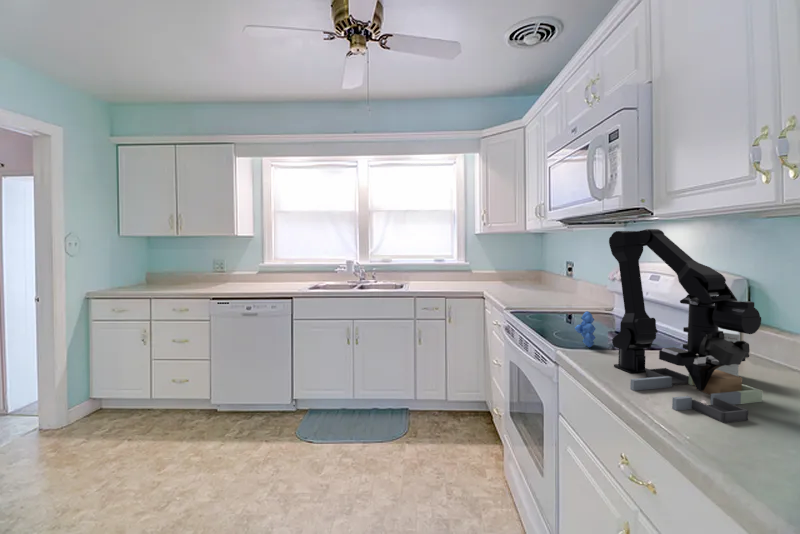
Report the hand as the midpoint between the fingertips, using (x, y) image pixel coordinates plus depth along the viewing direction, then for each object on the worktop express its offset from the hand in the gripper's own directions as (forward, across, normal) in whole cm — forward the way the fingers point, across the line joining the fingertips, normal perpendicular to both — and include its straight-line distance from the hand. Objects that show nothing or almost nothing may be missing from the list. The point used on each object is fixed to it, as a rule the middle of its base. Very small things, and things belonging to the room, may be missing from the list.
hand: (700, 390), depth 96 cm
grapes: (+1, +3, +46) cm, 46 cm away
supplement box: (+1, +18, +10) cm, 20 cm away
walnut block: (+1, +5, 0) cm, 5 cm away
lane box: (+1, -1, 0) cm, 2 cm away
